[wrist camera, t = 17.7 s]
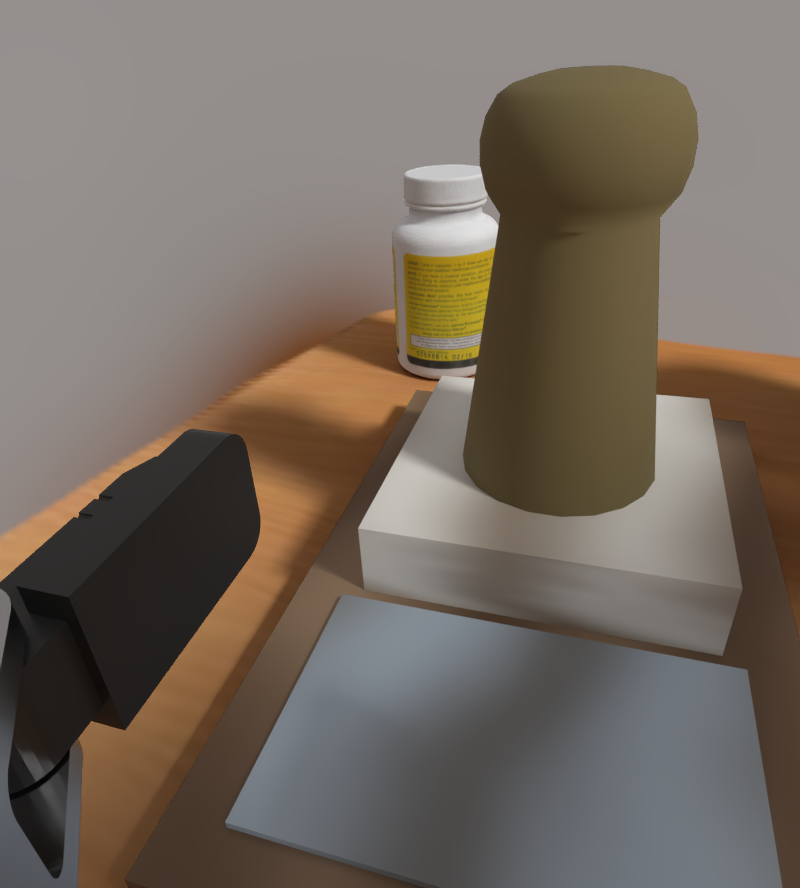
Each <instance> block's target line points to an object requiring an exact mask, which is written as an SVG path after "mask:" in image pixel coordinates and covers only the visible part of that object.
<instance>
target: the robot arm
mask: <svg viewBox="0 0 800 888" xmlns="http://www.w3.org/2000/svg"><path fill="white" fill-rule="evenodd" d="M259 533H260V512H259V507H258V502H257V497H256V492H255V487H254V482H253V477H252V472H251V467H250V462H249V457H248V452H247V448H246V445H245V442H244V441H243V439H242V438H241V437H240V436H239V435H236V434H229V433H221V432H213V431H205V430H197V429H190V430H188V431H186V432H184V433H183V434H182V435H181V436H180V437H179V438H177V439H176V440H175V441H174V442H173V443H172V444H171V445H170V446H169V447H168V448H167V449H165V450H164V451H163V452H162V453H161V454H160V455H159V456H158V457H154V458H152V459H150V460H148V461H146V462H144V463H142V464H140V465H138V466H136V467H135V468H133V469H131V470H129V471H127V472H125V473H123V474H122V475H121V476H120V477H119V478H117V479H116V480H115V481H114V482H113V483H112V484H111V485H110V486H108V487H107V488H106V489H105V490H104V491H103V492H102V493H101V494H99V499H98V500H97V499H94V500H93V501H92V502H90V503H89V504H88V505H87V506H86V507H85V508H84V509H82V510H81V511H80V512H79V517H78V518H76V517H73V518H72V519H71V520H70V521H69V522H68V523H67V524H66V525H64V526H63V527H62V528H61V529H60V530H59V531H58V532H56V533H55V534H54V535H53V536H52V537H51V538H50V539H49V540H47V541H46V542H45V543H44V544H43V545H42V546H41V547H40V548H38V549H37V550H36V551H35V552H34V553H33V554H32V555H30V556H29V557H28V558H27V559H26V560H25V561H24V562H23V563H21V564H20V565H19V566H18V567H17V568H16V569H15V570H14V571H12V572H11V573H10V574H9V575H8V576H7V577H6V578H5V579H3V580H2V581H1V582H0V888H77V887H78V859H79V834H80V810H81V785H82V760H83V753H82V747H81V744H80V741H79V739H78V737H79V736H80V735H81V734H82V732H83V731H84V730H85V728H86V727H87V726H88V725H89V723H90V722H91V721H93V722H97V723H100V724H104V725H108V726H111V727H115V728H119V729H122V730H126V728H127V727H128V726H129V724H130V723H131V721H132V720H133V719H134V717H135V716H136V714H137V713H138V712H139V710H140V709H141V707H142V706H143V705H144V703H145V702H146V701H147V699H148V698H149V696H150V695H151V694H152V692H153V691H154V689H155V688H156V687H157V685H158V684H159V683H160V681H161V680H162V678H163V677H164V676H165V674H166V673H167V671H168V670H169V669H170V667H171V666H172V665H173V663H174V662H175V660H176V659H177V658H178V656H179V655H180V653H181V652H182V651H183V649H184V648H185V647H186V645H187V644H188V642H189V641H190V640H191V638H192V637H193V635H194V634H195V633H196V631H197V630H198V629H199V627H200V626H201V624H202V623H203V622H204V620H205V619H206V617H207V616H208V615H209V613H210V612H211V611H212V609H213V608H214V606H215V605H216V604H217V602H218V601H219V599H220V598H221V597H222V595H223V594H224V593H225V591H226V590H227V588H228V587H229V586H230V584H231V583H232V581H233V580H234V579H235V577H236V576H237V575H238V573H239V572H240V570H241V569H242V568H243V566H244V565H245V563H246V562H247V561H248V559H249V558H250V556H251V555H252V553H253V551H254V549H255V547H256V544H257V541H258V538H259Z"/></svg>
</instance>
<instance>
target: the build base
mask: <svg viewBox="0 0 800 888" xmlns="http://www.w3.org/2000/svg"><path fill="white" fill-rule="evenodd" d="M474 380H475V378H464V377H453V376H442V377H441V378H440V380H439V382H438V384H437V386H436V388H435V389H434V391H433V392H430V391H420V390H417V391H416V392H415V394H414V396H413V397H412V399H411V401H410V402H409V404H408V406H407V407H406V409H405V411H404V412H403V414H402V416H401V417H400V419H399V421H398V422H397V424H396V426H395V427H394V429H393V431H392V432H391V434H390V436H389V437H388V439H387V441H386V442H385V444H384V446H383V448H382V449H381V451H380V453H379V454H378V456H377V458H376V459H375V461H374V463H373V464H372V466H371V468H370V469H369V471H368V473H367V474H366V476H365V478H364V479H363V481H362V483H361V484H360V486H359V488H358V489H357V491H356V493H355V494H354V496H353V498H352V499H351V501H350V503H349V505H348V506H347V508H346V510H345V511H344V513H343V515H342V516H341V518H340V520H339V521H338V523H337V525H336V526H335V528H334V530H333V531H332V533H331V535H330V536H329V538H328V540H327V541H326V543H325V545H324V546H323V548H322V550H321V551H320V553H319V555H318V557H317V558H316V560H315V562H314V563H313V565H312V567H311V568H310V570H309V572H308V573H307V575H306V577H305V578H304V580H303V582H302V583H301V585H300V587H299V588H298V590H297V592H296V593H295V595H294V597H293V598H292V600H291V602H290V603H289V605H288V607H287V608H286V610H285V612H284V614H283V615H282V617H281V619H280V620H279V622H278V624H277V625H276V627H275V629H274V630H273V632H272V634H271V635H270V637H269V639H268V640H267V642H266V644H265V645H264V647H263V649H262V650H261V652H260V654H259V655H258V657H257V659H256V660H255V662H254V664H253V665H252V667H251V669H250V671H249V672H248V674H247V676H246V677H245V679H244V681H243V682H242V684H241V686H240V687H239V689H238V691H237V692H236V694H235V696H234V697H233V699H232V701H231V702H230V704H229V706H228V707H227V709H226V711H225V712H224V714H223V716H222V717H221V719H220V721H219V722H218V724H217V726H216V728H215V729H214V731H213V733H212V734H211V736H210V738H209V739H208V741H207V743H206V744H205V746H204V748H203V749H202V751H201V753H200V754H199V756H198V758H197V759H196V761H195V763H194V764H193V766H192V768H191V769H190V771H189V773H188V774H187V776H186V778H185V779H184V781H183V783H182V785H181V786H180V788H179V790H178V791H177V793H176V795H175V796H174V798H173V800H172V801H171V803H170V805H169V806H168V808H167V810H166V811H165V813H164V815H163V816H162V818H161V820H160V821H159V823H158V825H157V826H156V828H155V830H154V831H153V833H152V835H151V837H150V838H149V840H148V842H147V843H146V845H145V847H144V848H143V850H142V852H141V853H140V855H139V857H138V858H137V860H136V862H135V863H134V865H133V867H132V868H131V870H130V872H129V873H128V875H127V877H126V878H125V881H126V883H127V885H128V887H129V888H800V640H799V636H798V632H797V628H796V624H795V620H794V616H793V612H792V608H791V604H790V600H789V596H788V592H787V588H786V584H785V580H784V576H783V572H782V568H781V564H780V561H779V557H778V553H777V549H776V545H775V541H774V537H773V533H772V529H771V525H770V521H769V517H768V513H767V509H766V505H765V501H764V497H763V493H762V489H761V485H760V481H759V477H758V473H757V469H756V466H755V462H754V458H753V454H752V450H751V446H750V442H749V438H748V434H747V430H746V426H745V422H743V421H733V420H723V419H713V418H712V413H711V407H710V401H709V399H701V398H690V397H679V396H668V395H656V443H655V480H654V482H653V483H652V485H651V486H650V488H649V489H648V491H647V492H646V494H645V495H644V496H643V497H641V498H639V499H638V500H636V501H634V502H633V503H631V504H629V505H628V506H626V507H624V508H622V509H618V510H614V511H610V512H606V513H602V514H599V515H595V516H571V517H558V516H552V515H545V514H539V513H532V512H527V511H524V510H521V509H518V508H516V507H513V506H510V505H507V504H505V503H502V502H499V501H497V500H496V499H494V498H493V497H491V496H490V495H488V494H487V493H485V492H484V491H482V490H481V489H480V488H478V487H477V486H476V485H475V483H474V482H473V481H472V479H471V478H470V477H469V475H468V474H467V473H466V471H465V467H464V459H463V450H464V444H465V437H466V431H467V424H468V418H469V412H470V405H471V399H472V392H473V386H474Z"/></svg>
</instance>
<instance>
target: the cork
mask: <svg viewBox="0 0 800 888" xmlns="http://www.w3.org/2000/svg"><path fill="white" fill-rule="evenodd" d="M697 143H698V125H697V112H696V109H695V107H694V105H693V102H692V100H691V97H690V95H689V92H688V90H687V87H686V86H684V85H683V84H682V83H680V82H679V81H678V80H677V79H675V78H674V77H671V76H667V75H664V74H660V73H657V72H653V71H649V70H645V69H639V68H633V67H627V66H584V67H569V68H561V69H556V70H552V71H548V72H544V73H540V74H537V75H534V76H531V77H528V78H525V79H522V80H520V81H517V82H514V83H512V84H510V85H509V86H508V87H507V88H505V89H504V90H503V91H501V92H500V93H499V94H497V96H496V98H495V99H494V101H493V103H492V105H491V107H490V109H489V110H488V112H487V114H486V116H485V120H484V124H483V129H482V133H481V137H480V168H481V172H482V177H483V181H484V186H485V190H486V192H487V194H488V195H489V197H490V199H491V200H492V202H493V203H494V205H495V206H496V208H497V210H498V211H499V213H500V219H499V226H498V232H497V239H496V245H495V251H494V258H493V264H492V271H491V277H490V284H489V290H488V296H487V303H486V309H485V316H484V322H483V328H482V335H481V341H480V348H479V354H478V360H477V367H476V373H475V380H474V386H473V392H472V399H471V405H470V412H469V418H468V424H467V431H466V437H465V444H464V450H463V459H464V467H465V471H466V473H467V474H468V475H469V477H470V478H471V479H472V481H473V482H474V483H475V485H476V486H477V487H478V488H480V489H481V490H482V491H484V492H485V493H487V494H488V495H490V496H491V497H493V498H494V499H496V500H497V501H499V502H502V503H505V504H507V505H510V506H513V507H516V508H518V509H521V510H524V511H527V512H532V513H539V514H545V515H552V516H558V517H571V516H595V515H599V514H602V513H606V512H610V511H614V510H618V509H622V508H624V507H626V506H628V505H629V504H631V503H633V502H634V501H636V500H638V499H639V498H641V497H643V496H644V495H645V494H646V492H647V491H648V489H649V488H650V486H651V485H652V483H653V482H654V480H655V443H656V394H657V346H658V296H659V246H660V217H661V216H662V215H663V214H664V213H665V211H666V210H667V209H668V208H669V207H670V206H671V205H672V203H673V202H674V201H675V200H676V199H677V198H678V197H679V195H680V194H681V193H682V191H683V189H684V186H685V184H686V182H687V179H688V177H689V175H690V173H691V170H692V168H693V165H694V159H695V154H696V149H697Z"/></svg>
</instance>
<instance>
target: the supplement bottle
mask: <svg viewBox="0 0 800 888" xmlns="http://www.w3.org/2000/svg"><path fill="white" fill-rule="evenodd" d="M487 195H488V194H487V192H486V190H485V186H484V181H483V177H482V172H481V168H480V167H478V166H471V165H434V166H426V167H420V168H415V169H412V170H409V171H407V172H406V173H405V174H404V198H405V204H406V206H408V207H409V215H408V216H406V217H404V218H402V219H401V220H400V221H399V222H398V223H397V224H396V225H395V227H394V229H393V232H392V252H393V270H394V271H393V272H394V292H395V318H396V339H397V354H398V360H399V362H400V364H401V365H402V367H403V368H405V369H406V370H407V371H409V372H411V373H413V374H416V375H419V376H422V377H426V378H432V379H440V378H441V377H442V376H453V377H468V376H472V375H475V373H476V367H477V360H478V354H479V348H480V341H481V335H482V328H483V322H484V316H485V309H486V303H487V296H488V290H489V284H490V277H491V271H492V264H493V258H494V251H495V245H496V239H497V232H498V225H497V223H496V222H495V220H494V219H493V218H491V217H490V216H489V215H487V214H484V213H483V212H482V205H483V204H485V202H486V200H487V199H486V196H487Z"/></svg>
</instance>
